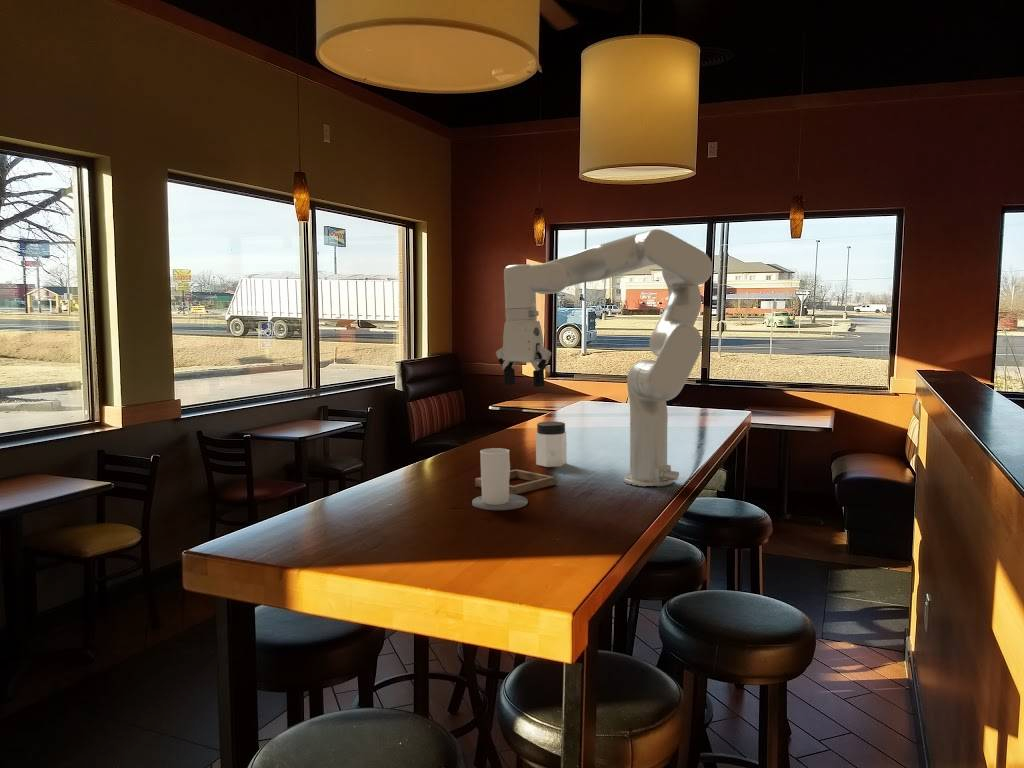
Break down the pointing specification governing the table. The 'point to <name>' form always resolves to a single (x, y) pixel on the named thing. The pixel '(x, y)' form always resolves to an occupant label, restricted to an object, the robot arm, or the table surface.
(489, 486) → the mug
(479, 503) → the grey round disc
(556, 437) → the jar
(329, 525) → the table surface
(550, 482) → the corral
